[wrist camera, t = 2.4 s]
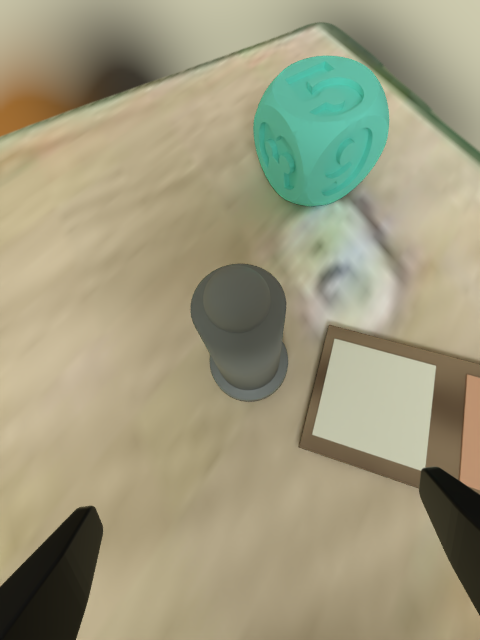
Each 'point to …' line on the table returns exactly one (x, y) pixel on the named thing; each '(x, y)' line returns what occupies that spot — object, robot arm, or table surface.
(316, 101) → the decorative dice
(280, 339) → the pawn
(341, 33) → the table surface
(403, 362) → the game board
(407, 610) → the table surface
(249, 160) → the table surface
